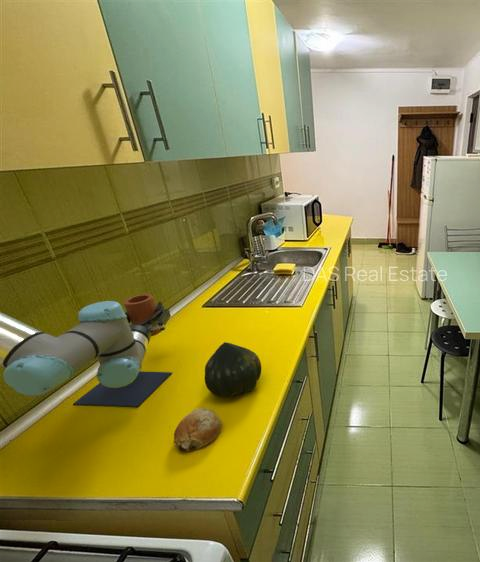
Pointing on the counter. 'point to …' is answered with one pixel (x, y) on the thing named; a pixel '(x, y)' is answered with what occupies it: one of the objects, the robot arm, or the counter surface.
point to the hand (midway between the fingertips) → (146, 307)
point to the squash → (232, 370)
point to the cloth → (125, 391)
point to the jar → (140, 309)
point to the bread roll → (197, 430)
